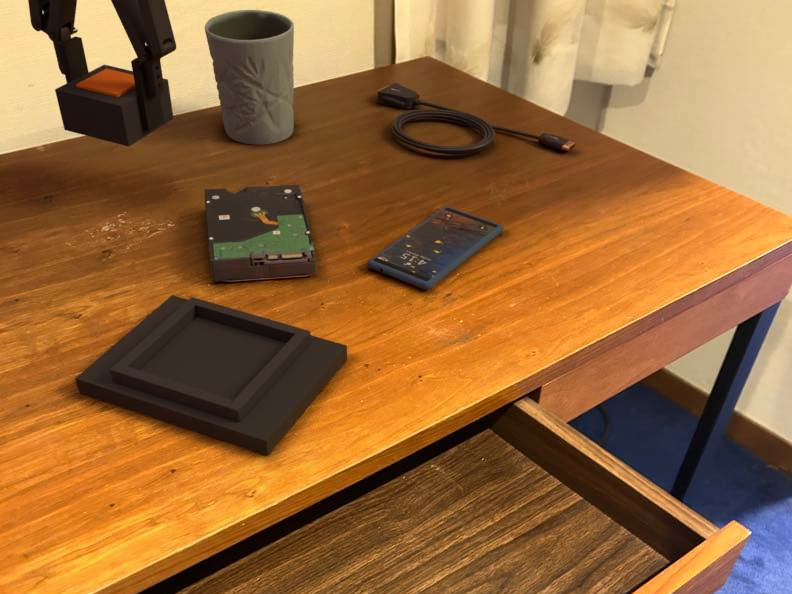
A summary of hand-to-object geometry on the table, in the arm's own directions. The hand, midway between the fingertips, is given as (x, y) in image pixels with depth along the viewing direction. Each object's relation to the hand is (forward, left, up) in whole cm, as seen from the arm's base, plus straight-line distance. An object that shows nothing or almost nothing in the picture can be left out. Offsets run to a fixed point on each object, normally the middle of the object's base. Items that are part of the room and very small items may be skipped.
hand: (118, 116), depth 90 cm
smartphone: (+35, +3, -8) cm, 36 cm away
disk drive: (+18, -4, -8) cm, 20 cm away
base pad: (+26, -25, -8) cm, 37 cm away
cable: (+26, +30, -8) cm, 41 cm away
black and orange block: (0, 0, -1) cm, 1 cm away
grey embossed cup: (+4, +20, -8) cm, 22 cm away
